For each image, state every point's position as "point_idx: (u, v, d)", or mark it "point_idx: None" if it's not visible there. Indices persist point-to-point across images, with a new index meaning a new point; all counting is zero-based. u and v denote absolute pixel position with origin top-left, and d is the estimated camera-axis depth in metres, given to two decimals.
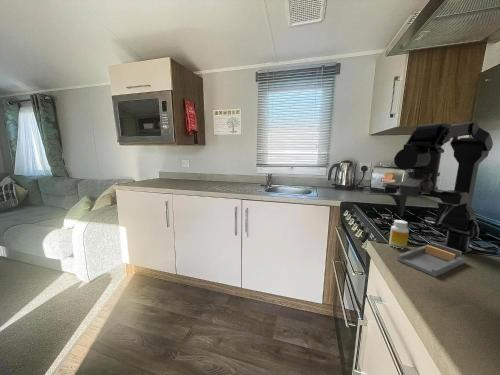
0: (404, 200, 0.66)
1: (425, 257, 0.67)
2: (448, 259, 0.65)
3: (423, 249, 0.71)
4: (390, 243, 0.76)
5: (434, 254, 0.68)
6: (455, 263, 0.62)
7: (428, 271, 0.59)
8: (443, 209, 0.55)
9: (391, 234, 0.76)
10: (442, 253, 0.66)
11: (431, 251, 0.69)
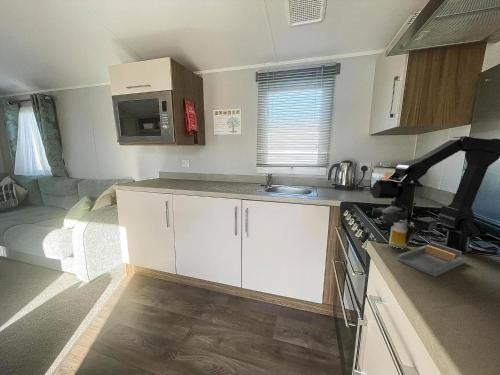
0: (393, 224, 0.78)
1: (425, 257, 0.67)
2: (448, 259, 0.65)
3: (423, 249, 0.71)
4: (390, 243, 0.76)
5: (434, 254, 0.68)
6: (455, 263, 0.62)
7: (428, 271, 0.59)
8: (411, 231, 0.71)
9: (391, 234, 0.76)
10: (442, 253, 0.66)
11: (431, 251, 0.69)
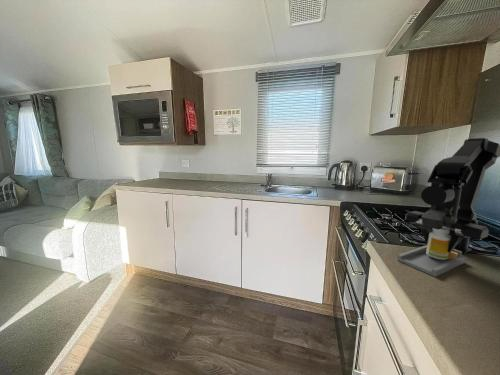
0: (430, 230, 0.69)
1: (425, 257, 0.67)
2: (450, 258, 0.66)
3: (423, 249, 0.71)
4: (428, 252, 0.67)
5: None
6: (455, 263, 0.62)
7: (428, 271, 0.59)
8: (456, 239, 0.61)
9: (430, 242, 0.66)
10: None
11: None
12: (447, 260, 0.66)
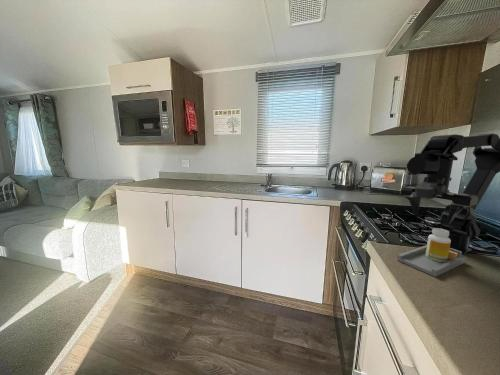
0: (418, 202, 0.74)
1: (425, 257, 0.67)
2: (450, 258, 0.66)
3: (423, 249, 0.71)
4: (428, 254, 0.67)
5: None
6: (455, 263, 0.62)
7: (428, 271, 0.59)
8: (454, 210, 0.63)
9: (429, 244, 0.67)
10: None
11: None
12: (447, 260, 0.66)
